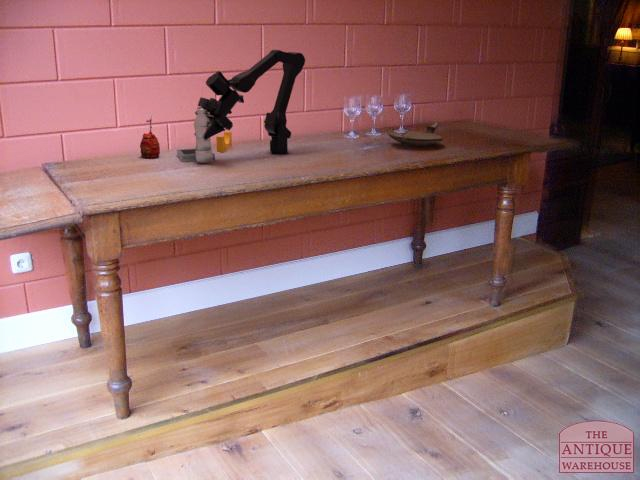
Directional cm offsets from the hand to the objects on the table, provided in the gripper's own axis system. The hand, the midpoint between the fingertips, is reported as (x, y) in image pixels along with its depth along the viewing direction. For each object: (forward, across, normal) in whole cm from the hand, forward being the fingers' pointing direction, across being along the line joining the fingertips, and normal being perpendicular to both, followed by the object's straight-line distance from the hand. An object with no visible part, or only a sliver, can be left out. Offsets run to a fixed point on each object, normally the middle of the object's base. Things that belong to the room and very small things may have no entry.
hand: (199, 137), depth 238 cm
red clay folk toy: (+14, -21, 0) cm, 25 cm away
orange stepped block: (-6, -18, +21) cm, 28 cm away
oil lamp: (-59, +20, +73) cm, 96 cm away
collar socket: (+5, -10, +9) cm, 14 cm away
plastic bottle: (+6, 0, +8) cm, 10 cm away
